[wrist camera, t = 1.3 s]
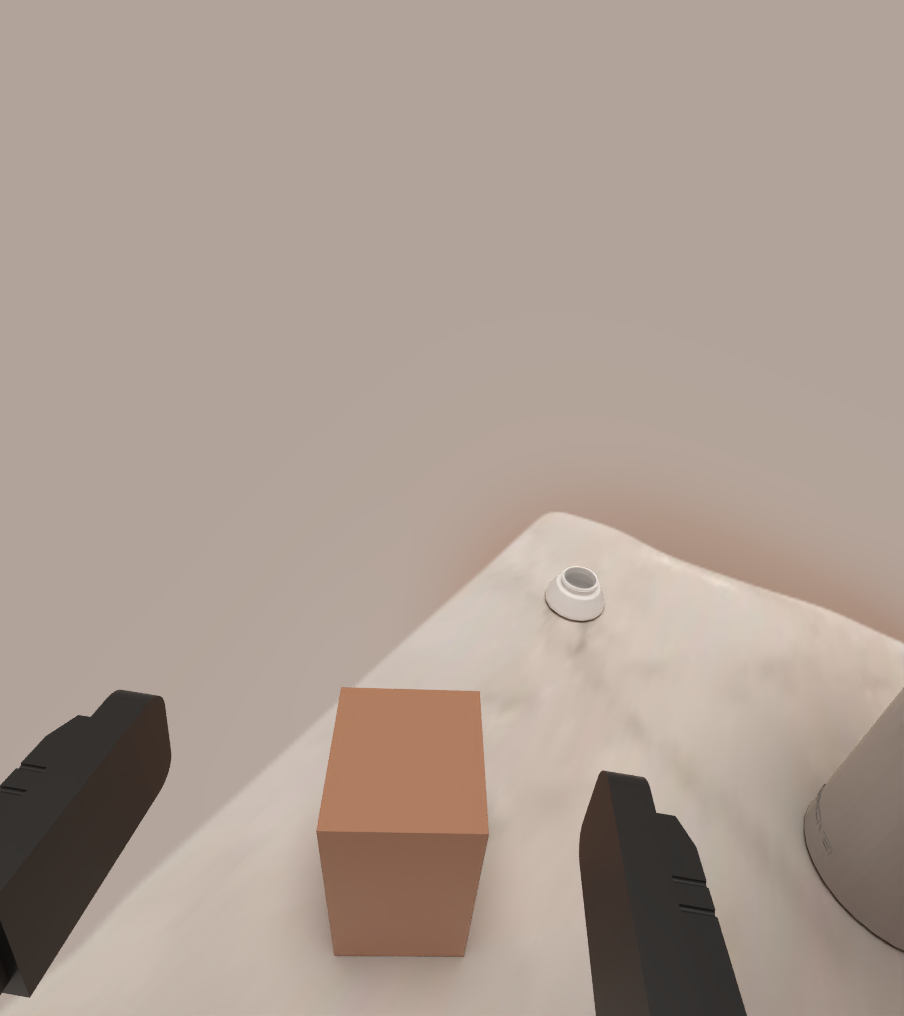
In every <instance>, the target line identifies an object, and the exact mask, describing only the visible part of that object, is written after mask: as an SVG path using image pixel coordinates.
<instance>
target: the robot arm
mask: <svg viewBox="0 0 904 1016" xmlns="http://www.w3.org/2000/svg"><path fill="white" fill-rule="evenodd" d="M170 762H171V748H170V740H169V732H168V725H167V717H166V710H165V703H164V700H163V698H162V697H160V696H156V695H150V694H143V693H138V692H131V691H125V690H117V691H115V692H114V693H112V694H111V695H110V696H109V697H108V698H107V699H106V700H105V701H104V702H103V704H102V705H101V706H100V707H99V708H98V709H97V710H96V712H95V713H94V714H93V715H92V716H91V717H87V716H80V715H78V716H76V717H75V718H73V719H72V720H70V721H69V722H67V723H65V724H64V725H62V726H61V727H59V728H58V729H56V730H55V731H53V732H52V733H50V734H48V735H47V736H46V737H45V738H44V739H43V740H42V741H41V742H40V743H39V744H38V745H37V747H35V749H34V750H33V751H32V752H31V753H30V754H29V755H28V756H27V757H26V758H25V759H24V760H23V761H22V762H21V766H20V768H19V769H15V770H14V771H13V772H12V773H11V774H10V776H8V778H7V779H6V780H5V781H4V782H3V783H2V784H1V785H0V995H1V993H7V994H13V995H18V996H24V997H29V998H30V997H31V995H32V993H33V992H34V990H35V989H36V987H37V985H38V984H39V982H40V981H41V979H42V978H43V976H44V974H45V973H46V971H47V970H48V968H49V966H50V965H51V963H52V962H53V960H54V958H55V957H56V955H57V954H58V952H59V951H60V949H61V947H62V946H63V944H64V943H65V941H66V939H67V938H68V936H69V935H70V933H71V932H72V930H73V928H74V927H75V925H76V924H77V922H78V920H79V919H80V917H81V916H82V914H83V912H84V911H85V909H86V908H87V906H88V904H89V903H90V901H91V900H92V898H93V897H94V895H95V893H96V892H97V890H98V889H99V887H100V886H101V884H102V882H103V881H104V879H105V878H106V876H107V874H108V873H109V871H110V870H111V868H112V866H113V865H114V863H115V862H116V860H117V858H118V857H119V855H120V854H121V852H122V851H123V849H124V848H125V846H126V844H127V843H128V841H129V840H130V838H131V836H132V835H133V833H134V832H135V830H136V828H137V827H138V825H139V824H140V822H141V821H142V819H143V817H144V816H145V814H146V813H147V811H148V809H149V808H150V806H151V805H152V803H153V802H154V800H155V798H156V797H157V795H158V794H159V792H160V790H161V788H162V787H163V785H164V782H165V780H166V777H167V775H168V771H169V768H170ZM804 832H805V838H806V843H807V847H808V850H809V853H810V855H811V858H812V860H813V863H814V865H815V867H816V868H817V870H818V872H819V874H820V875H821V877H822V879H823V881H824V882H825V884H826V885H827V886H828V888H829V889H830V890H831V892H832V893H833V894H834V896H835V897H836V898H837V899H838V901H839V902H840V903H841V904H842V905H843V906H844V907H845V908H846V909H847V910H848V911H849V912H850V913H851V914H852V915H853V916H854V917H855V918H856V919H857V920H858V921H859V922H861V923H862V924H863V925H864V926H866V927H867V928H868V929H869V930H871V931H872V932H873V933H874V934H876V935H877V936H879V937H880V938H882V939H884V940H885V941H887V942H888V943H890V944H892V945H893V946H895V947H897V948H899V949H901V950H903V951H904V688H903V689H902V690H901V692H900V693H899V694H898V695H897V697H896V698H895V699H894V700H893V702H892V703H891V704H890V705H889V706H888V708H887V709H886V710H885V711H884V713H883V714H882V715H881V716H880V718H879V719H878V720H877V721H876V723H875V724H874V725H873V726H872V728H871V729H870V730H869V731H868V733H867V734H866V735H865V736H864V738H863V739H862V740H861V741H860V743H859V744H858V745H857V746H856V747H855V749H854V750H853V751H852V752H851V754H850V755H849V756H848V757H847V759H846V760H845V761H844V762H843V764H842V765H841V766H840V767H839V769H838V770H837V771H836V772H835V773H834V775H833V776H832V777H831V778H830V780H829V781H828V782H827V783H826V784H824V786H823V787H822V788H821V789H820V791H819V793H818V795H817V796H816V797H815V799H814V800H813V801H812V802H811V804H810V805H809V807H808V810H807V813H806V815H805V825H804ZM579 861H580V871H581V881H582V890H583V899H584V909H585V918H586V927H587V936H588V946H589V955H590V964H591V974H592V983H593V992H594V1001H595V1011H596V1016H747V1014H746V1011H745V1008H744V1004H743V1001H742V998H741V994H740V991H739V988H738V984H737V981H736V978H735V974H734V971H733V968H732V964H731V961H730V958H729V954H728V951H727V948H726V945H725V941H724V938H723V935H722V931H721V928H720V925H719V921H718V918H717V917H715V908H714V905H713V901H712V898H711V895H710V891H709V888H707V887H706V878H705V875H704V871H703V868H702V865H701V861H700V858H699V855H698V851H697V848H696V846H695V845H694V843H693V842H692V840H691V839H690V837H689V836H688V834H687V833H686V831H685V830H684V828H683V827H682V825H681V824H680V822H679V821H678V819H677V818H676V816H672V815H666V814H660V813H656V810H655V806H654V802H653V798H652V794H651V790H650V786H649V784H648V781H647V780H646V779H645V778H644V777H639V776H633V775H627V774H621V773H615V772H608V771H601V772H600V774H599V776H598V779H597V782H596V785H595V788H594V791H593V794H592V797H591V800H590V803H589V806H588V809H587V812H586V815H585V818H584V821H583V824H582V828H581V833H580V843H579Z"/></svg>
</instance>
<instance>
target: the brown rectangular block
mask: <svg viewBox="0 0 904 1016" xmlns="http://www.w3.org/2000/svg"><path fill="white" fill-rule="evenodd" d="M316 832H317V838H318V845H319V852H320V859H321V866H322V873H323V880H324V887H325V894H326V901H327V908H328V915H329V922H330V928H331V935H332V942H333V949H334V956H464V953H465V948H466V943H467V939H468V934H469V929H470V924H471V919H472V914H473V909H474V904H475V899H476V894H477V889H478V885H479V880H480V875H481V870H482V865H483V860H484V855H485V850H486V845H487V840H488V835H489V830H488V814H487V798H486V783H485V767H484V751H483V735H482V720H481V704H480V691H449V690H415V689H380V688H344V687H342V688H341V692H340V697H339V703H338V709H337V715H336V721H335V726H334V732H333V738H332V744H331V750H330V755H329V761H328V767H327V773H326V779H325V784H324V790H323V796H322V802H321V808H320V813H319V819H318V825H317V831H316Z"/></svg>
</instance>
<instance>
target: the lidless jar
mask: <svg viewBox="0 0 904 1016" xmlns="http://www.w3.org/2000/svg"><path fill="white" fill-rule="evenodd" d="M545 593H546V601H547V603H548V604H549V606H550V608H551V609H553V610H554V611H555V612H556V613H558V614H559V615H561V616H563V617H566V618H568V619H571V620H578V621H586V620H591V619H594V618H596V617H597V616H599V615H600V614H601V613H602V610H603V608H604V606H605V601H604V595H603V592H602V589H601V586H600V584H599V582H598V577H597V576H596V574H595V573H594V572H593V571H591V570H589V569H588V568H585V567H582V566H570V567H568V568H566V569H565V570H564V571H563V572H562V573H560V574H559V575H558V576H557V577H555V578H554V579H553V580H552V581H551V582H550V583H549V585H548V587H547V588H546V592H545Z"/></svg>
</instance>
